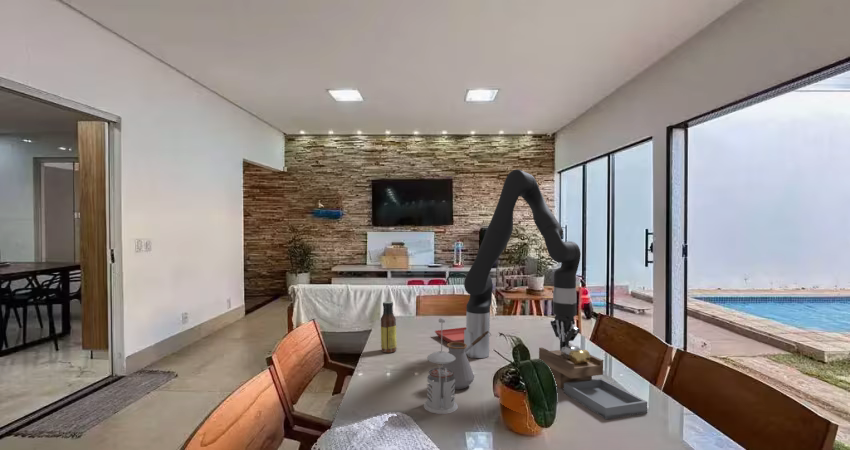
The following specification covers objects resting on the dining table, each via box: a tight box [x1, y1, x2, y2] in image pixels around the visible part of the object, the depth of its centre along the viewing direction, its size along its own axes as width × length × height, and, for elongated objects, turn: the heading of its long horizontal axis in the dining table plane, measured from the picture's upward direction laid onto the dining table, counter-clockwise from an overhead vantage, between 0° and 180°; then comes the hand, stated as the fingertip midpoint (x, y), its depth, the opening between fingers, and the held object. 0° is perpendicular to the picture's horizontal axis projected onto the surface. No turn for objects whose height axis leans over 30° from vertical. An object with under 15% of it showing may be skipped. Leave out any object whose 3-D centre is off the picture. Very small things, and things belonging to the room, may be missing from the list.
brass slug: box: [569, 349, 591, 364], centre depth 130 cm, size 5×4×4 cm
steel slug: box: [561, 345, 581, 360], centre depth 134 cm, size 5×4×4 cm
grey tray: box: [563, 378, 648, 420], centre depth 120 cm, size 14×18×3 cm
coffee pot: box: [442, 331, 492, 390], centre depth 135 cm, size 21×12×15 cm, turn 130°
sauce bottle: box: [380, 301, 398, 354], centre depth 165 cm, size 7×6×20 cm
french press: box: [423, 317, 459, 415], centre depth 115 cm, size 10×12×25 cm
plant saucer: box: [434, 326, 466, 343], centre depth 184 cm, size 18×18×3 cm
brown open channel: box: [538, 344, 604, 389], centre depth 135 cm, size 12×17×10 cm
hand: (564, 351), depth 138 cm, fingers closed
